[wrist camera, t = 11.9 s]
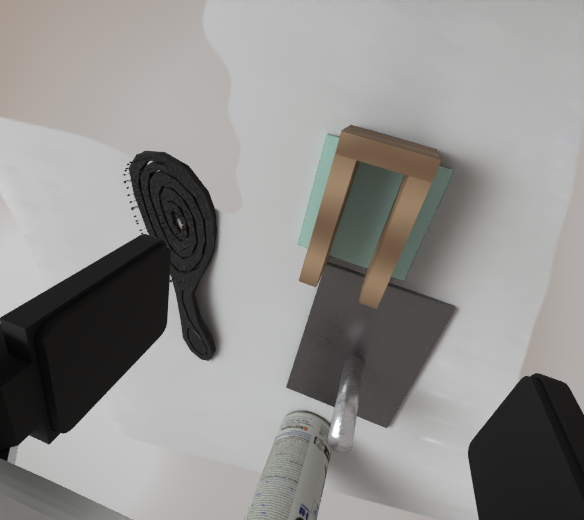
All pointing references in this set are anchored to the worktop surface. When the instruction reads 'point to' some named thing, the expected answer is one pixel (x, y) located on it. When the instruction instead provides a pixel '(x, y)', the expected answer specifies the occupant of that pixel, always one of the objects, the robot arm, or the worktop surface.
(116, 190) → the worktop surface
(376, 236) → the mat
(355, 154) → the arch block
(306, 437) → the spray can
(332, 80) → the worktop surface
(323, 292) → the stand
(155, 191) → the hairbrush
